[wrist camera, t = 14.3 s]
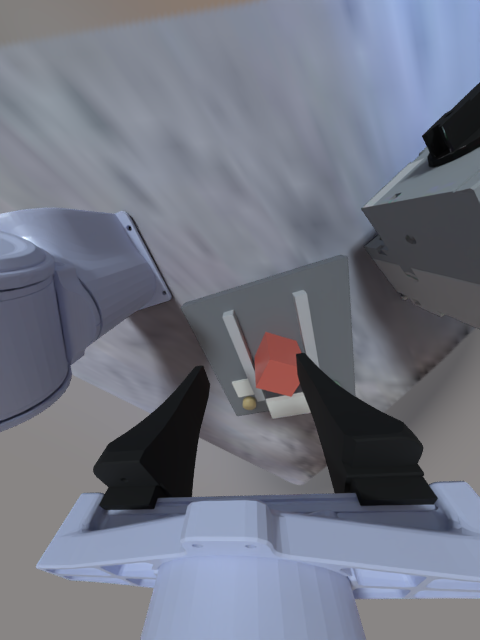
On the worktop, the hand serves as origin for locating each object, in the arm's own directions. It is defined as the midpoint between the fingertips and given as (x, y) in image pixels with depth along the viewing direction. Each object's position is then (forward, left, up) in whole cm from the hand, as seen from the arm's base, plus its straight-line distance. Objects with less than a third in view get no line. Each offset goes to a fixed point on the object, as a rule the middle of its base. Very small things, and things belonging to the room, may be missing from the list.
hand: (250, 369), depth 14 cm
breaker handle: (+10, +2, -8) cm, 12 cm away
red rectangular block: (+5, +2, -8) cm, 9 cm away
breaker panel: (+6, +2, -9) cm, 11 cm away
